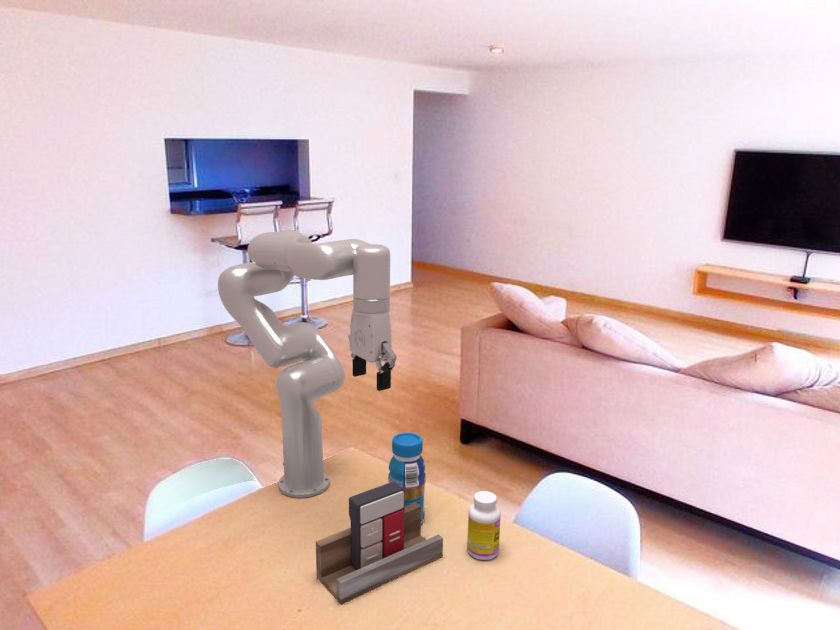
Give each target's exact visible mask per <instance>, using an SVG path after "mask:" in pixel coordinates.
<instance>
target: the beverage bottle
mask: <svg viewBox="0 0 840 630" xmlns="http://www.w3.org/2000/svg"><path fill="white" fill-rule="evenodd" d="M423 441H424V440H423V438H422V436H421V435H420V434H417V433H415V432H401V433H397V434H396V435H394V436H393V438H392V440H391V452H392V454H393V455H392V457H391V458H390V461H389V464H388V471H389V472H388V476H387V481H388V483H390V482H393V481H394V482H396V483H397V484H399V485H400V486H401V487H403V488H404V489H405V498H404V507H405V506H407V505H410V504H412V503H415V502H416V503H417V504H419V505H420V506H421V524H422V523H423V522H424V521H425V517H426V515H425V513H426V512H425V489H426V486H425V485H426V482H427V475H426V472H425V471H426V467H427V466H426V462H425V459H424V458H423V456H422V453H423V451H424V450H423V448H424V447H423V445H424V444H423V443H424V442H423Z"/></svg>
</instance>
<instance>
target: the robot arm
mask: <svg viewBox="0 0 840 630" xmlns="http://www.w3.org/2000/svg"><path fill="white" fill-rule="evenodd" d="M248 243H249V244H248V245H247V254H248V258H249V260H250V261H251V262H245V263H240V264H236V265H233V266H229V267H228V268H226V269H224V270H223V271H222V272H221V273H220V274H219V277H218V280H217V289H218V290H217V291H218V295H219V298H220V301H221V304H222V305H223V307H224V309H225V310H226V311H227V313H228V314H229V315H230V316H231V317H232V318H233V319H234V320H235V322H236V323H237V324H238V325H239V326H240V327H241V328H242V329H243V331H244V333H245V334H246V337H248V339H249V341H250V342H251V344H252V345H253V347H254V348H255V350H256V352H258V354H259V356H260V357H261V359H262V360H263V361H264V362H265V364H266V365H267V366H269V367H270V368H273V369H274V368H275V369H278V368H279V369H280V368H283V367H286V366H287V367H286V368H284V369H282V370H281V372H279V374H278V375H277V376H276V380H275V390H276V394H277V398H278V402H279V407H280V417H281V430H282V431H281V432H282V452H283V455H282V456H283V462H282V466H283V473H284V474H283V475H282V476H281V477H280V478H279V479H278V485H277V487H278V489H279V491H280V493H282V494H284V495H285V496H288V497H291V498H309V497H314V496H317V495H320V494H322V493H323V492H325V491H326V490H327V489H328V488H329V487H330V483H331V482H330V481H331V479H330V476H329V474H327V472H325V471H324V454H323V453H324V449H323V445H324V444H323V423H322V421H323V420H322V415H321V413H320V411H319V409H318V408H317V407H316V406H315V401H316V400H318V399H320V398H323V397H325V396H328V395H329V394H332V393H335V392H337V391H339V390H340V389H341V388H342V387H343V386H344V384H345V380H346V374H345V370H344V367H343V365H342V363H341V361H340V359H339V358H338V357H337V355H336V354H335V352H334V351H333V349H332V348H331V346H330V345H329V344H328V342H327V341H326V340H325V338H324V336H323V335H322V333H321V332H320V331H319V330H318V329H317V328H316V327H315V326H314V325H312V324H311V323H308V322H302V321H301V322H296V323H291V324H288V325H286V324H284V323H282V321H281V320H280V319H279V318H278V316H277V315H276V313H275V312H274V311H273V309H272V308H270V307H269V306H268V305H266V304H265V303H264V302H261V301H259V300H257V299H256V298H255V297H258V296H260V297H261V296H264V295H269V294H273V293H274V294H275V293H277V292H281V291H283V290H285V288H286V287H288V285H289V284H290V283H291V282H292V280H293V279H294V277H296V278H301V279H308V280H315V281H317V280H318V281H328V280H332V279H336V278H342V277H347V276H352V277H353V279H352V284H353V285H352V287H353V288H352V291H353V293H352V295H353V296H352V297H353V301H352V302H353V305H352V306H353V308H352V312H351V316H350V326H349V335H348V342H349V351H350V352H351V353H350V354H351V355H350V356H351V358H352V359H351V360H352V376H353V377H359V376H364V375H366V374H367V362H368V363H373V364H374V363H375V365H376V368H377V371H376V390H377V391H378V392H382V391H385V390H389V389H391V388H392V386H391V385H392V371H394V370H393V369H394V368H395V366H396V365H395V363H396V361H397V354H396V353H395V352H394V349H392V348H393V347H392V345H393V344H392V342H393V341H392V326H391V318H390V310H391V308H390V305H391V301H390V300H391V297H390V296H391V291H390V290H391V251H390V248H389V247H387V246H386V245H383V244H378V243H369V242H366V241H364V240H361V239H358V238H350V239H349V238H347V239H343V240H342V239H341V240H334V241H333V240H332V241H326V242H321V243H320V242H318V243H317V242H316V243H313V242H312V240H311V239H310V238H309V237H307V236H306V235H303V234H302V233H301V232H299V231H297V230H292V229H290V230H289V229H287V230H279V231H278V230H277V231H269V232H263V233H260V234H258V235H256V236H254V237H253V238H252V239H251V240H250V241H249V242H248ZM382 362H384V363H383V365H382Z"/></svg>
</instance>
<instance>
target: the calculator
mask: <svg viewBox="0 0 840 630" xmlns="http://www.w3.org/2000/svg"><path fill="white" fill-rule="evenodd" d="M404 498H405V489H404V488H403V487H401V486H400V485H399V484H397V483H396V482H394V481H393V482H390V483H389V482H388V483H385V484H382V485H379V486H377V487H374V488H371V489H368V490H366V491H363V492H360V493H358V494H355V495H352V496H349V498H348V516H349V520H350V528H351V565H352V566H353V567H354V568H355V569H356V570H358V569H361V568H363V567H365V566H368V565H370V564H372V563H374V562H377V561H379V560H381V559H383V558H386V557H388V556H390V555H393V554H395V553H397V552H399V551H402V550H404Z"/></svg>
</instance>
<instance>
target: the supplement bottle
mask: <svg viewBox="0 0 840 630" xmlns="http://www.w3.org/2000/svg"><path fill="white" fill-rule="evenodd" d="M497 501H498V499H497V495H496V494H495V493H494V492H491V491H487V490H481V491H477V492H475V494H474V496H473V503H472V505H470V506H469V508H468V514H467V515H468V517H467V519H468V520H467V540H466V551H467V553H468V554H469V555H470V556H471V557H472V558H474V559H476V560H479V561H489V560H492V559H495V558H496V557H497V556H498V554H499V550H500V531H501V517H502V516H501V510H500V508H499V507H498V505H497V504H498V502H497Z"/></svg>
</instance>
